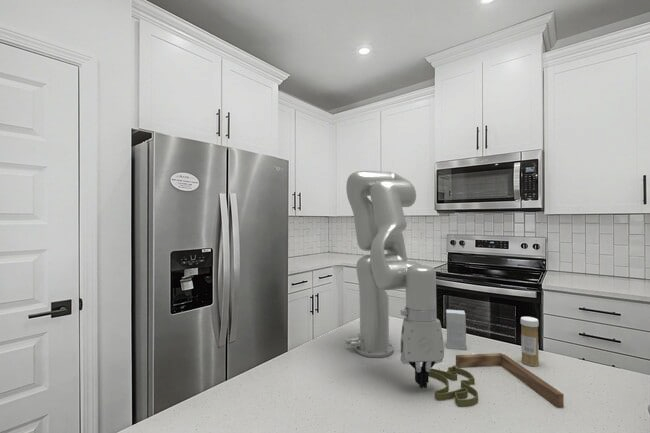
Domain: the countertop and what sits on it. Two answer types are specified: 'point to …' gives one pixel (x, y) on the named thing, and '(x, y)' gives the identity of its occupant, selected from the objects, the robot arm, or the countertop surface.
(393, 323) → the countertop surface
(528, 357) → the sprinkles bottle
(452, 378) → the cookie cutter
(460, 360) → the walnut fence
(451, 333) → the skincare box
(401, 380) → the countertop surface
